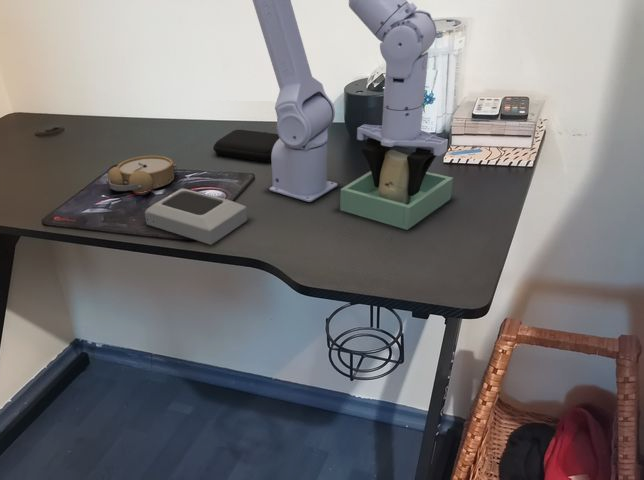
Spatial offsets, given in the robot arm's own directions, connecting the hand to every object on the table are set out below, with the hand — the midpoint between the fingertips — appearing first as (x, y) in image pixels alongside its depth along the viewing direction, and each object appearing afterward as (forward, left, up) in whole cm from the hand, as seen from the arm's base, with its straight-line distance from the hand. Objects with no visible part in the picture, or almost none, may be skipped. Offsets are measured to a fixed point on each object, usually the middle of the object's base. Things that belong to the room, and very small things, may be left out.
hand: (396, 189), depth 103 cm
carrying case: (-37, +6, -3) cm, 38 cm away
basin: (0, 0, -3) cm, 3 cm away
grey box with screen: (-24, -23, -3) cm, 33 cm away
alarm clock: (-45, -18, -3) cm, 49 cm away
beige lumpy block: (0, 0, -2) cm, 2 cm away
